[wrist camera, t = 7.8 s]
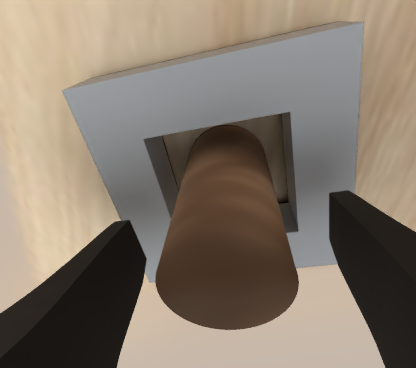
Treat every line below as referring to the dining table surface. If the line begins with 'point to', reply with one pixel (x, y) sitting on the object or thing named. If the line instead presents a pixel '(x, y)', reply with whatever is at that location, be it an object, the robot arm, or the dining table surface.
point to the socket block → (227, 113)
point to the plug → (227, 238)
